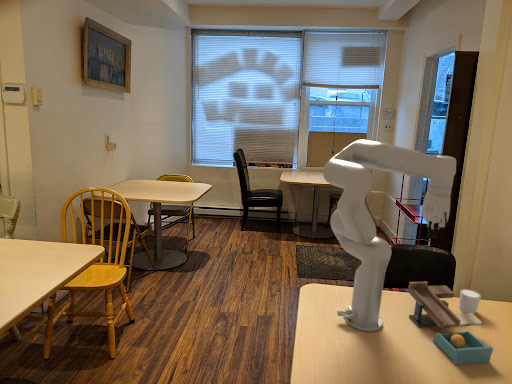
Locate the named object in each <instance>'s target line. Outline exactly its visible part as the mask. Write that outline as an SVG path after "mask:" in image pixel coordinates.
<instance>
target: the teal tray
mask: <svg viewBox="0 0 512 384" xmlns="http://www.w3.org/2000/svg"><path fill="white" fill-rule="evenodd" d="M454 334H459V335H461V336H462V337H463V338H464V340H465V344H464V346H463V347H461V348H457V347H455V346H453V344H452V343H451V337H452V336H453V335H454ZM432 343H434V345H436V347H437V348H439V350H440V351H441V352H442V353H443V354H444V355H445V356H446V358H448V359H449V360H450V361H451V363H453V365H455V366H458V365H473V364H485V363H490V361H491V358H492V353H493V347H492V346H490V345H489V346H488V345H486V344H485V343H483V342H482V340H480V339H479V338H478V337H477V336H476V335H474V334H473V333H472V332H471V331H469V330H466V331H462V332H460V331H459V332H448V333H447V332H445V333H440V332H436V333H434V336H433V340H432Z"/></svg>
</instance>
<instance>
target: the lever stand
mask: <svg viewBox="0 0 512 384" xmlns="http://www.w3.org/2000/svg"><path fill="white" fill-rule="evenodd" d="M440 300H441V299H440ZM441 301H442V302H443V303H444V304H445V305H446V306H447V307H448V308H449V302H447V301H446V299H443V300H441ZM423 310H424V309H423V304H422V303H421V302H420V301H416V300H415V307H414V313H413V314H409V316H408V318H409V319H410V320H411V321H412V322H413V323H414V324H415V325H416V326H417V328H432V327H439V326H438V325H437V324H436V323H435V322H434V321H433V320H432V319H431V317H430V316H429V315H428V314H427V313H423ZM422 313H423V314H422Z"/></svg>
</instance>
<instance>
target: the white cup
mask: <svg viewBox="0 0 512 384" xmlns="http://www.w3.org/2000/svg"><path fill="white" fill-rule="evenodd" d="M481 298H482V295H481V294H480V293H479V292H476V291H475V290H472V289H465V288H464V289H463V288H462V289H461V290H460V292H459V302H458V309H459V310H460V311H461V312H462V313H472V314H474V315H475V314H476V313H477V310H478V307H479V304H480V302H481Z"/></svg>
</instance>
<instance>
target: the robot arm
mask: <svg viewBox="0 0 512 384" xmlns="http://www.w3.org/2000/svg"><path fill="white" fill-rule="evenodd" d="M370 169H373V170H378V171H381V172H382V171H383V172H386V173H387V172H388V173H392V174H393V173H394V174H397V175H403V176H407V177H416V178H422V179H427V180H429V182H428V188H427V191H426V193H425V195H424V198H423V202H422V205H421V210H420V211H421V212H420V215H421V216H422V217H421V218H424V220H426V227H427V229H426V235H425V237H426V238H427V239H429V240H436V239H437V237H438V232H439V230H440V228H445V227H446V224H447V223H448V222H449V217H450V212H451V195H452V188H453V183H454V179H455V177H454V176H455V175H456V174H457V173H456V172H457V159H456V158H455V157H453V156H449V155H433V154H428V153H424V152H421V151H418V150H414V149H411V148H406V147H403V146H398V145H394V144H389V143H387V142H381V141H375V140H369V139H358V140H356V141H353V142H352V143H350V144H348V145H347V146H346V147H344V148H343V149H341V151H339V152H338V153H337V154H335V155H334V156H333V157H331V158H330V159H329V160H328V161H326V164H325V165H324V166H323V170H322V176H323V178H324V181H325V182H326V183H327V184H329V185H331V186H334V187H337V188H341V189H343V192H342V194H341V196H340V198H339V200H338V201H337V204H336V209H335V210H334V211H333V213H332V214H331V217H330V229H331V230H332V232H333V234H334V236H335V238H336V239H337V241H338V243H339V244H340V245H341V246H340V247H342V249H343V250H344V251H345V252H346V253H348V254H349V255H351V256H353V257H355V258H357V259H358V260H360V261H361V265H359V266H358V268H357V269H356V271H355V274H354V280H353V281H354V283H353V288H352V289H353V290H352V297H351V305H348V308H347V309H345V310H343V309H340V310H339V309H338V310H337V311H336V315H337V317H342V318H343V320H345V321H346V322H347V324H348V325H349V326H350V327H352V328H354V329H356V330H357V331H358V330H359V331H362V332H368V333H370V332H377V331H379V330H380V329H382V328H383V323H384V322H383V320H382V318H381V317H380V316H379V315H380V311H381V303H382V297H383V289H384V282H385V276H386V272H387V267H388V265H389V262H390V260H391V256H392V248H391V246H390V244H389V243H388V242H387V241H386V240H385V239H383V238H381V237H379V236H377V227H376V224H375V222H374V220H373V218H372V216H371V214H370V212H369V210H368V208H367V206H366V202H365V201H366V197H367V194H368V192H369V190H370V187H371V185H372V182H373V176H372V172H371V171H370Z"/></svg>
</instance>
